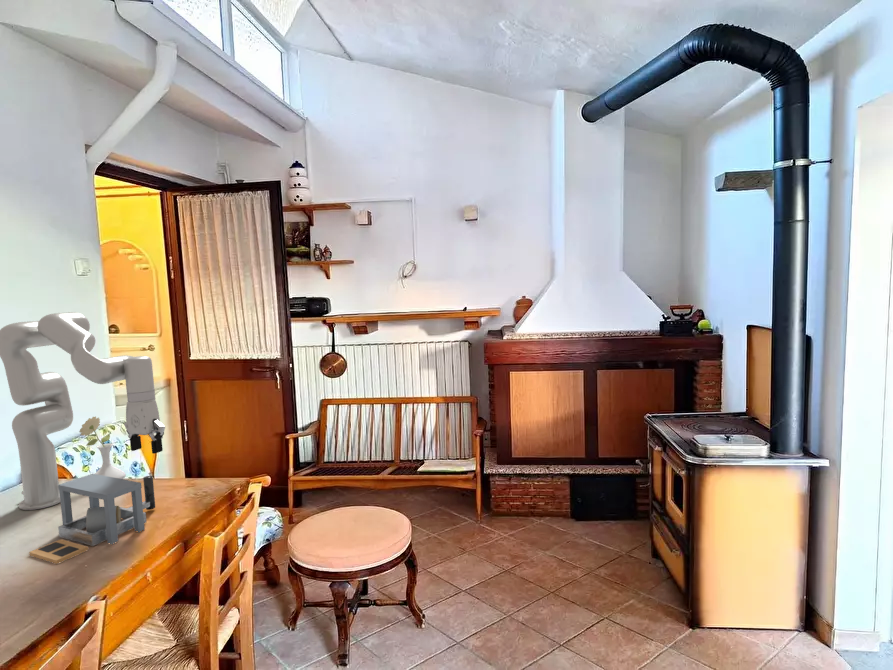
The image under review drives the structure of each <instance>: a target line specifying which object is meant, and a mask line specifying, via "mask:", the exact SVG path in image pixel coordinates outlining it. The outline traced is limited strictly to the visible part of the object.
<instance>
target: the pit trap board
mask: <svg viewBox="0 0 893 670" xmlns="http://www.w3.org/2000/svg"><path fill="white" fill-rule="evenodd" d="M86 550H88V551H89V546H88V545H87V546H86V545H85V544H84V545H83V544H81V543H78V542H77V543H76V542H73V541H70V540H65V539H62V538H61V539H58V540H56V541H55V540H54V541H53V542H50V543H48V544H46V545H45V544H44V545H42V546H40V547H38V548H36V549H34V550H31V551H29V552H28V553H29V554H28V555H29V557H32V556H33V557H32V558H35V557H36V559H39V560H42V559H43V560H42V561H45V560H46V562H48V561H50V562H49V563H51V562H53V563H52V564H54V563H55V565H58V564H57V563H59V562H61V563H63V562H65V561H67V560H66V559H68V560H70V559H71V557H72V558H74V557H76V556H75V555H77V556H79V555H81V554H83V553H85V552H84V551H86ZM82 552H83V553H82ZM86 552H87V551H86ZM80 553H81V554H80ZM78 554H79V555H78ZM73 556H74V557H73ZM69 558H70V559H69ZM64 560H65V561H64ZM62 561H63V562H62ZM59 564H60V563H59Z"/></svg>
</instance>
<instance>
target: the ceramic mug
mask: <svg viewBox="0 0 893 670" xmlns="http://www.w3.org/2000/svg"><path fill="white" fill-rule="evenodd" d="M120 507H121V506H119V505H115V513H116V523H119V522H121V521H122V519H121V510H120ZM85 516H86V528H85V531H86V532H90V533H95V532H97V531H100V530H102V529H104V528H106V521H105V510H104V506H100V507H94V508H90V507H89V508H87V511H86V515H85Z"/></svg>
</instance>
